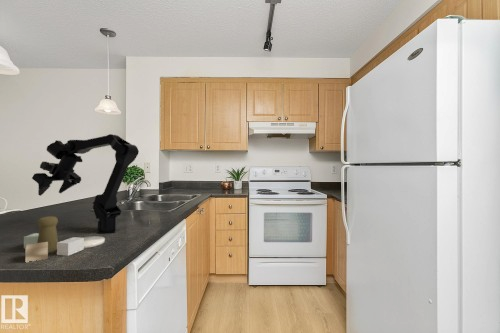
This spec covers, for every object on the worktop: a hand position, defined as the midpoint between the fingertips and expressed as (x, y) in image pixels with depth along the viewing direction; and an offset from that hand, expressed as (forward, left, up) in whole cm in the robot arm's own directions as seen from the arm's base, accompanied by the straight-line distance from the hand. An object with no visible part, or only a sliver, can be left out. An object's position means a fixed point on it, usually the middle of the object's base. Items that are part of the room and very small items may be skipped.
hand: (50, 193), depth 110 cm
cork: (-16, +33, -15) cm, 40 cm away
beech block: (-17, +41, -15) cm, 46 cm away
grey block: (-24, +37, -15) cm, 47 cm away
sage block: (-10, +28, -15) cm, 33 cm away
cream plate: (-26, +28, -15) cm, 41 cm away
